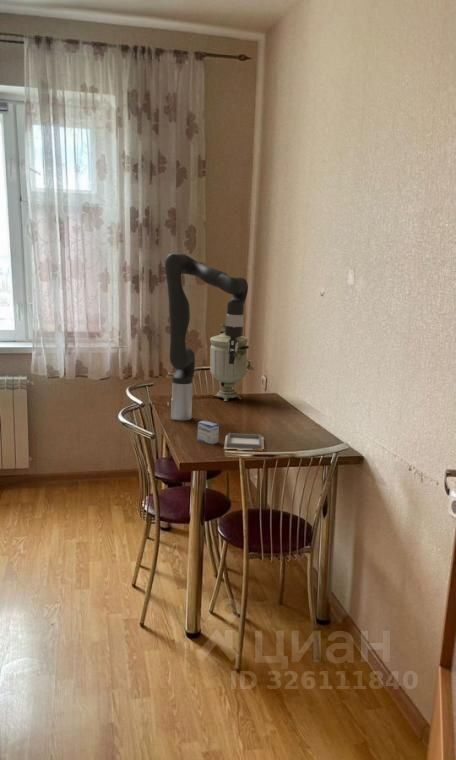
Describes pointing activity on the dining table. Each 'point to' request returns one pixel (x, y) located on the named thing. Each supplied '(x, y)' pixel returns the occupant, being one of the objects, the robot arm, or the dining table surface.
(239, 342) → the samovar
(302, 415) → the dining table surface
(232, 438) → the board
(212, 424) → the medicine box
